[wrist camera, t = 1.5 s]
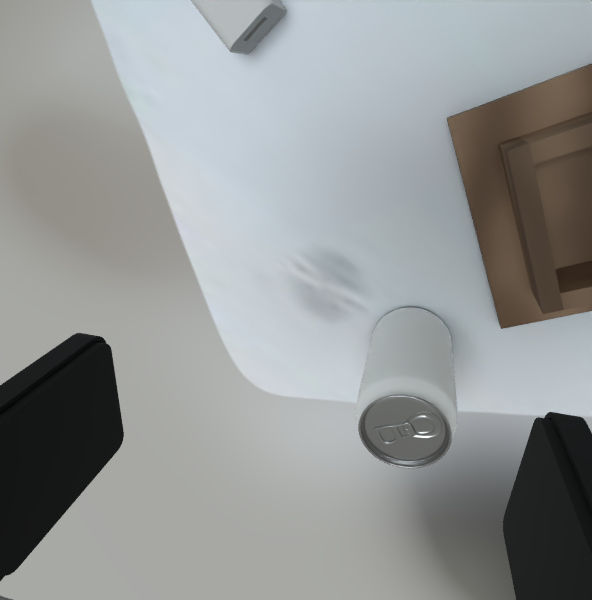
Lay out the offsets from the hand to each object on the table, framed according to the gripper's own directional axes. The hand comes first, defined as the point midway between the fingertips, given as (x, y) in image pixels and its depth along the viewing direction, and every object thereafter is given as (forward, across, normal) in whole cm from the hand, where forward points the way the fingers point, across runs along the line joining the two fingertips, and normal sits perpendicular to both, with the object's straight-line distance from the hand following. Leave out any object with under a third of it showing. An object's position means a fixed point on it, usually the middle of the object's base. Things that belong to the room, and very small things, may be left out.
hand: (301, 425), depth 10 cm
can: (+28, -4, +12) cm, 30 cm away
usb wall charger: (+28, +12, -13) cm, 33 cm away
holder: (+27, -14, -1) cm, 31 cm away
